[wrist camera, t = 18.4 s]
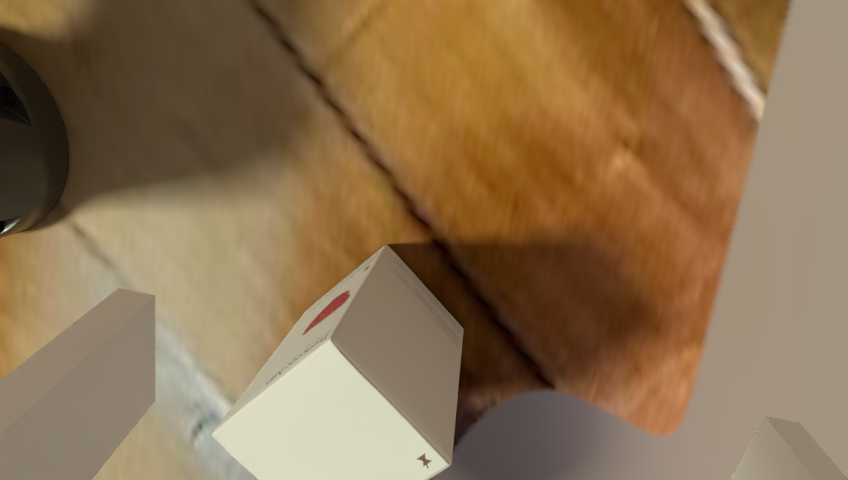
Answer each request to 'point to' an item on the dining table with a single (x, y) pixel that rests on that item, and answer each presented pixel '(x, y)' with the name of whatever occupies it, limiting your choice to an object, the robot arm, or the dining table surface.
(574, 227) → the dining table surface
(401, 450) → the supplement box
